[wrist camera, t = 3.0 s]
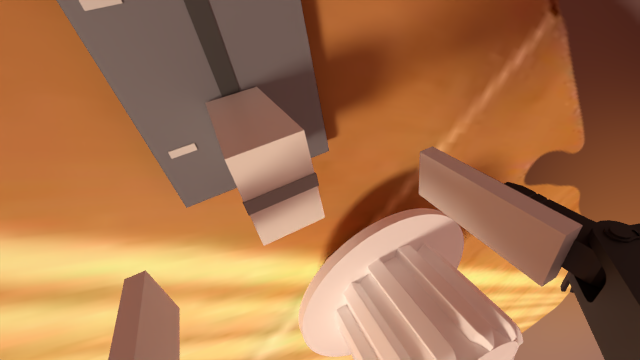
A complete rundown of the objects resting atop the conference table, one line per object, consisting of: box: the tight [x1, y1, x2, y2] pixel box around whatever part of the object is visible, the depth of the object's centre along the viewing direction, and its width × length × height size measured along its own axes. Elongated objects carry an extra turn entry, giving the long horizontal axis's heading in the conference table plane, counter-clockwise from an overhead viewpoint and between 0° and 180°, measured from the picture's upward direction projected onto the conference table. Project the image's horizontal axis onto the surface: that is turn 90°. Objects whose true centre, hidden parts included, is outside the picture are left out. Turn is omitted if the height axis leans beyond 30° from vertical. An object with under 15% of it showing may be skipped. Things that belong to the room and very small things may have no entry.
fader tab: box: [205, 87, 325, 245], centre depth 19 cm, size 4×6×10 cm
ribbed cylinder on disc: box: [299, 208, 523, 360], centre depth 35 cm, size 25×25×19 cm
